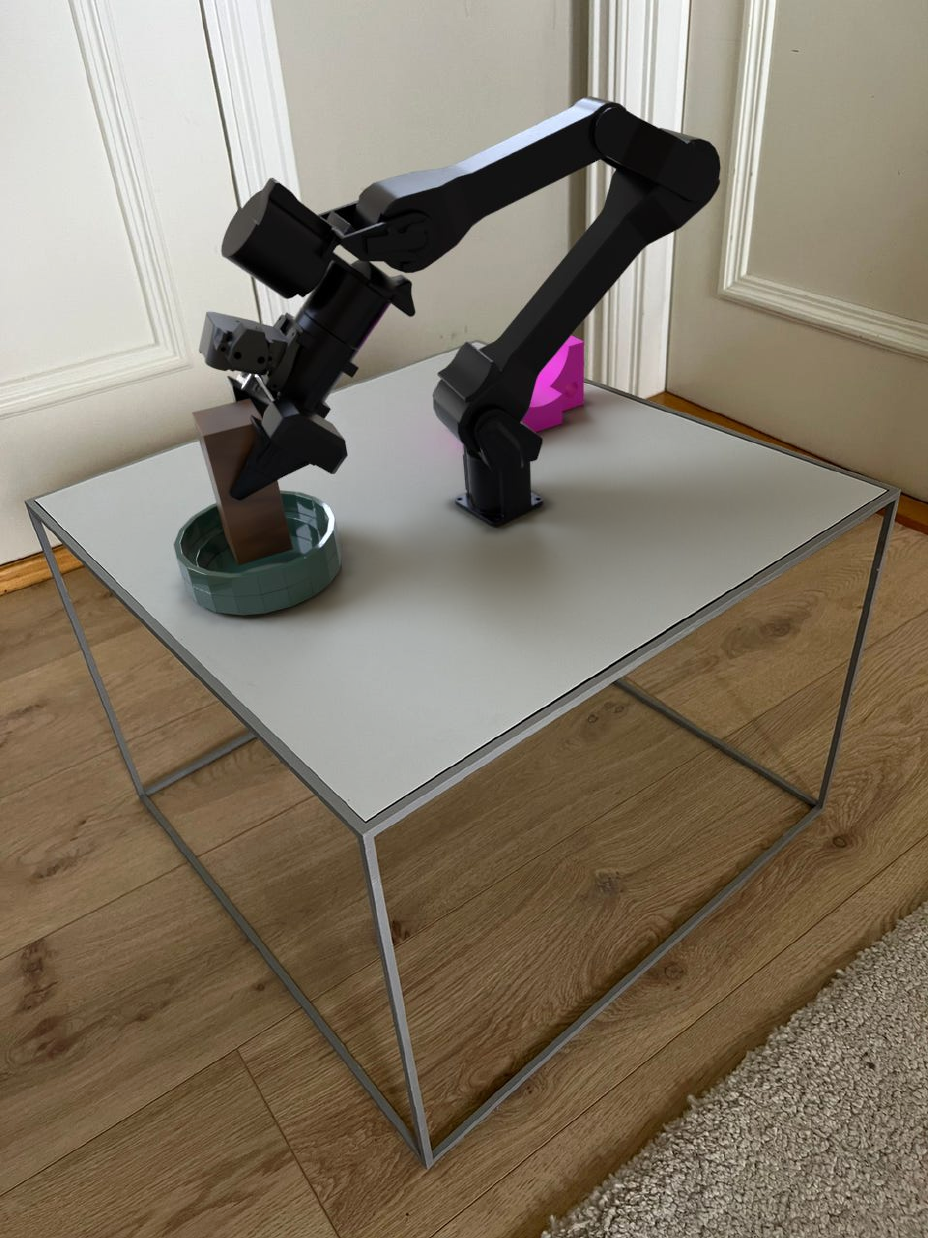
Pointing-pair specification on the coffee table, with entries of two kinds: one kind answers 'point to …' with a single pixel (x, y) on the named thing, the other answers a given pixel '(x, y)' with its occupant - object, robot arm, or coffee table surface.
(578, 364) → the toy block
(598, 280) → the robot arm
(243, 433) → the walnut block
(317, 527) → the teal shallow bowl
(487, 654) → the coffee table surface
